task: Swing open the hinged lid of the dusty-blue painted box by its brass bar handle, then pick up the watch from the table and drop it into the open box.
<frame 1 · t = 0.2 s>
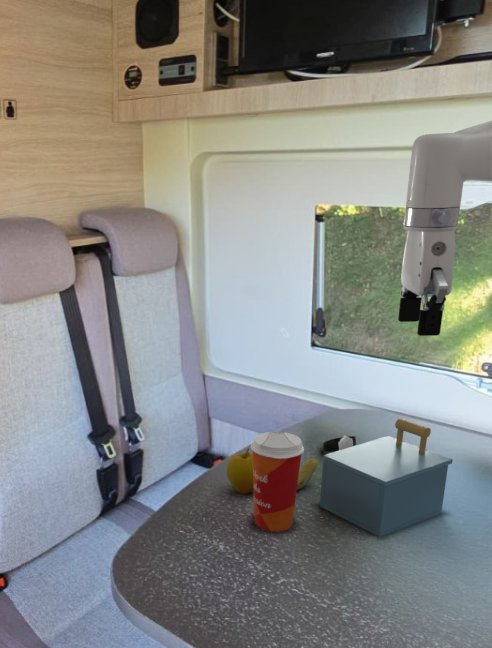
hand: (417, 327, 117), 30 cm above the table, tool pointing down, fingers open, 9 cm apart
lid: (388, 445, 118), point 12 cm above the table, hinge at 0.0°
apple: (243, 492, 131), on the table
chest: (379, 510, 122), on the table
watch: (338, 451, 146), on the table
coffee cup: (273, 524, 119), on the table
banana: (301, 486, 132), on the table
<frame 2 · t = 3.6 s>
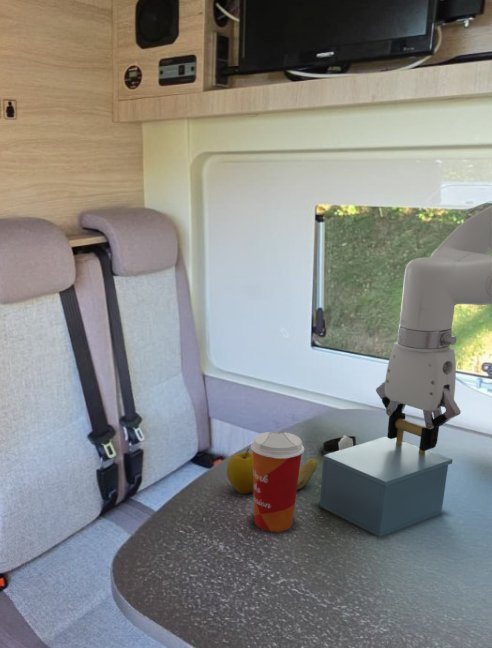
hand: (411, 441, 120), 11 cm above the table, tool pointing down, fingers closed on lid, 5 cm apart
lid: (388, 445, 118), point 12 cm above the table, hinge at 0.0°, touching gripper
everything else where it was.
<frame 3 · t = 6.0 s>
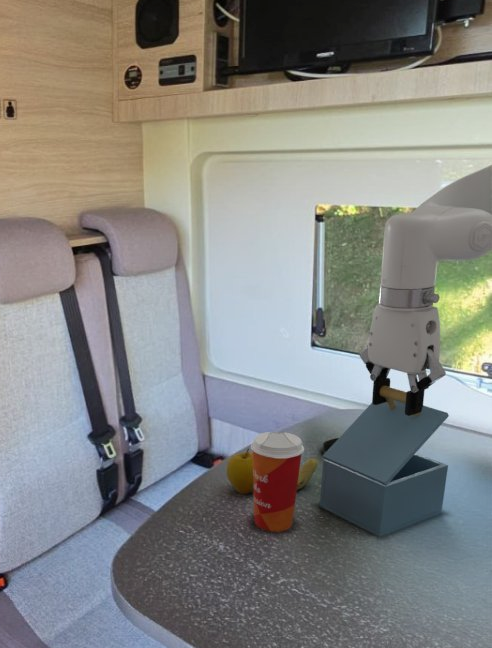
hand: (396, 407, 116), 18 cm above the table, tool pointing down, fingers closed on lid, 5 cm apart
lid: (379, 426, 115), point 16 cm above the table, hinge at 34.2°, touching gripper
everything else where it was.
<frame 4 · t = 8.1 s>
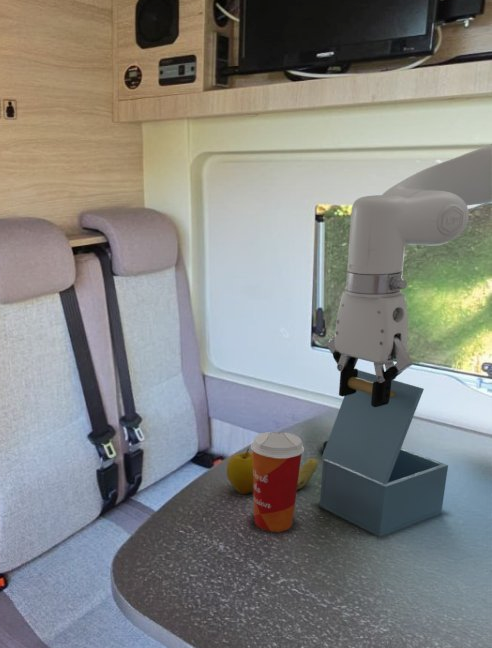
hand: (363, 398, 112), 21 cm above the table, tool pointing down, fingers closed on lid, 5 cm apart
lid: (360, 422, 113), point 17 cm above the table, hinge at 67.7°, touching gripper
everything else where it was.
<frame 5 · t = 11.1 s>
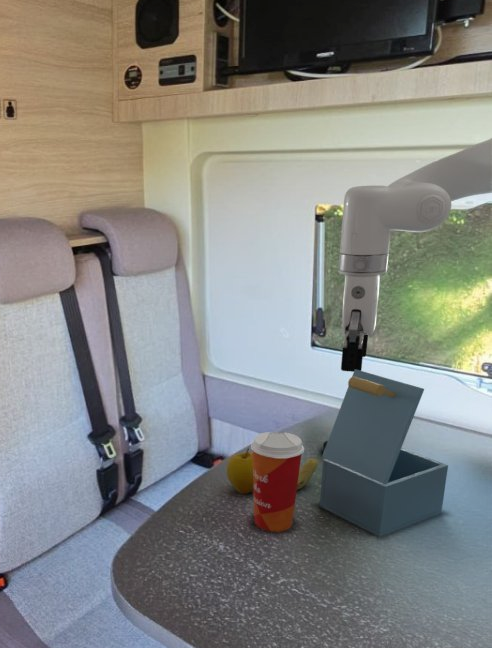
hand: (353, 363, 125), 23 cm above the table, tool pointing down, fingers open, 9 cm apart
lid: (360, 422, 113), point 17 cm above the table, hinge at 67.2°
everything else where it was.
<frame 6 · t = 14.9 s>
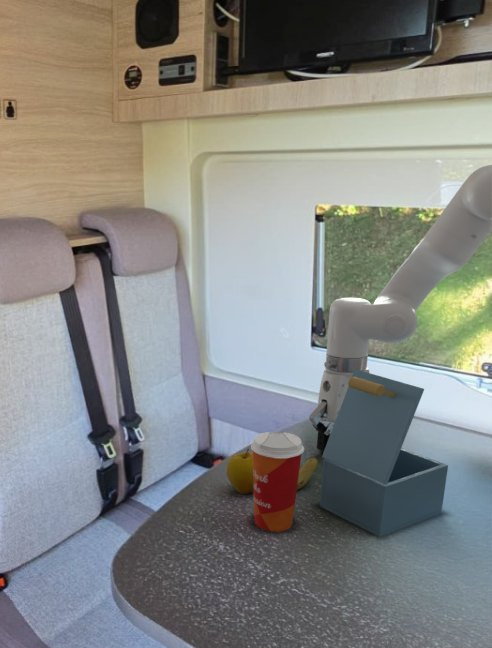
hand: (339, 445, 146), 1 cm above the table, tool pointing down, fingers closed on watch, 7 cm apart
watch: (338, 451, 146), on the table, touching gripper
everything else where it was.
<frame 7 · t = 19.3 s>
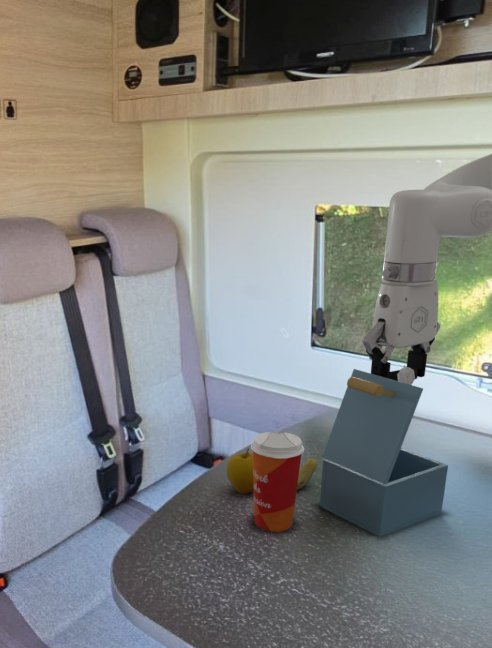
hand: (397, 379, 119), 22 cm above the table, tool pointing down, fingers closed on watch, 7 cm apart
lid: (360, 422, 113), point 17 cm above the table, hinge at 68.2°, touching gripper
watch: (396, 386, 119), point 20 cm above the table, touching gripper
everything else where it was.
when the fingers open (10 cm above the table, at t = 23.0 s): watch drops 5 cm, resting on chest.
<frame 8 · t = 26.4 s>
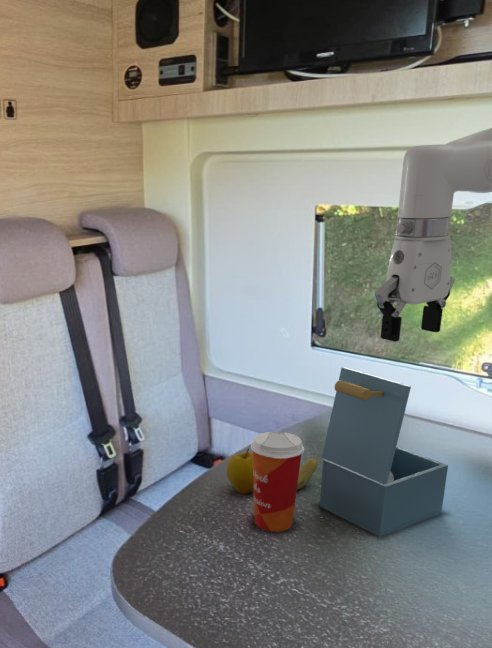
hand: (410, 335, 119), 28 cm above the table, tool pointing down, fingers open, 9 cm apart
lid: (353, 424, 112), point 17 cm above the table, hinge at 79.2°
watch: (385, 479, 124), point 4 cm above the table, touching chest
everything else where it was.
at the end: lid at +79° (first picture: +0°); watch inside the target area in the chest (4.2 cm from its centre), point 3.8 cm above the chest's base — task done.
